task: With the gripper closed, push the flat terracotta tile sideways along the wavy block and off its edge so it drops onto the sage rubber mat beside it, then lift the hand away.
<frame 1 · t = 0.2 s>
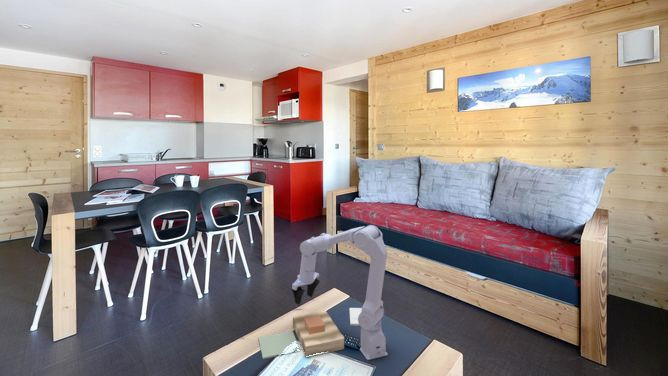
hand: (303, 299, 125), 11 cm above the table, tool pointing down, fingers open, 7 cm apart
tile: (314, 324, 117), point 5 cm above the table, touching wavy block
mat: (278, 344, 113), on the table
wavy block: (316, 336, 118), on the table
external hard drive: (359, 319, 131), on the table
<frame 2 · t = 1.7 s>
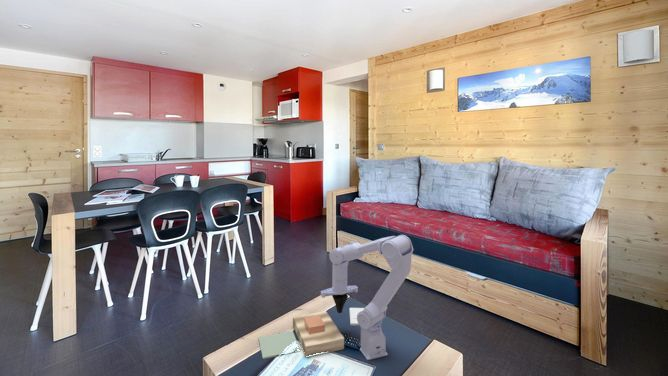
hand: (339, 311, 120), 8 cm above the table, tool pointing down, fingers closed
nothing on the table moved.
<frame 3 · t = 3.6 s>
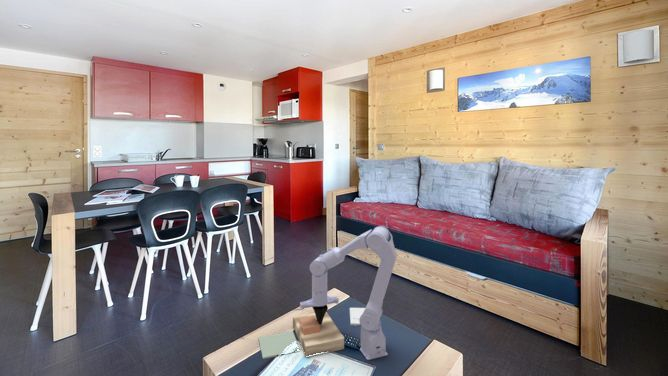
hand: (319, 323, 117), 5 cm above the table, tool pointing down, fingers closed
tile: (309, 325, 116), point 5 cm above the table, touching wavy block, gripper
everything else where it was.
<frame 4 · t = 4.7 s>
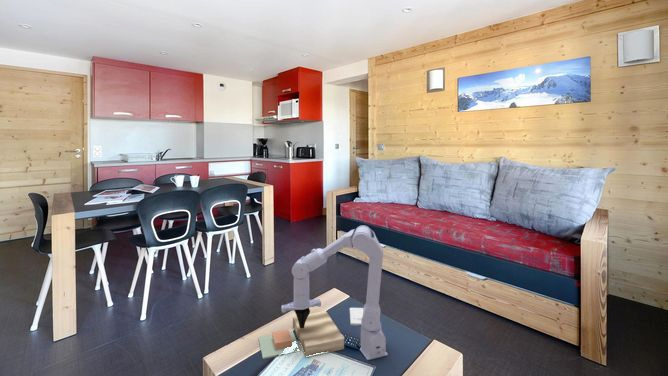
hand: (301, 326, 115), 5 cm above the table, tool pointing down, fingers closed
tile: (282, 339, 113), point 2 cm above the table, tilted 180°, touching mat
everything else where it was.
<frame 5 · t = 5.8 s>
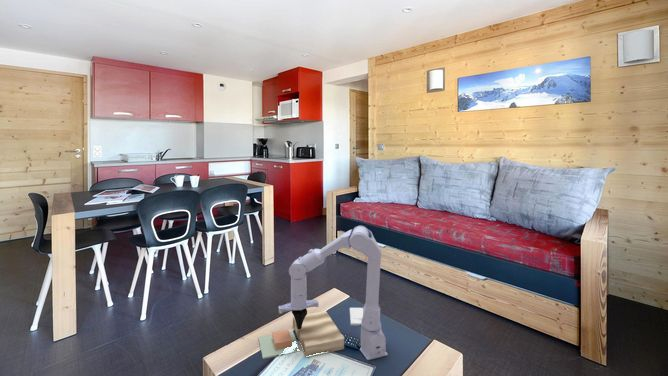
hand: (298, 327, 114), 5 cm above the table, tool pointing down, fingers closed
nothing on the table moved.
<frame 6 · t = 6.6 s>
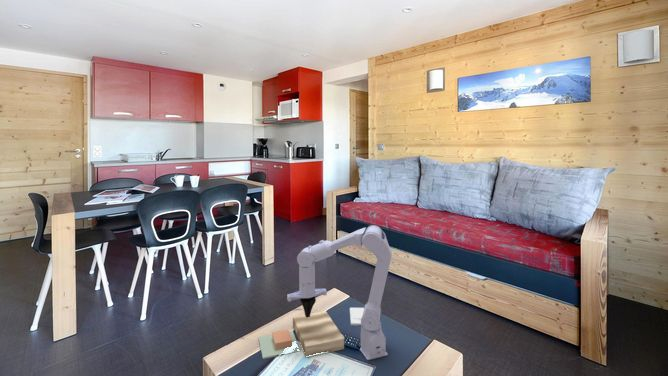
hand: (307, 315, 115), 9 cm above the table, tool pointing down, fingers closed
nothing on the table moved.
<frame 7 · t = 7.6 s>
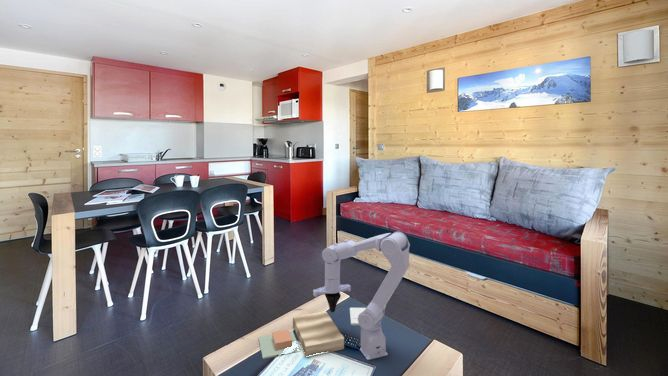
hand: (332, 310, 118), 9 cm above the table, tool pointing down, fingers closed
nothing on the table moved.
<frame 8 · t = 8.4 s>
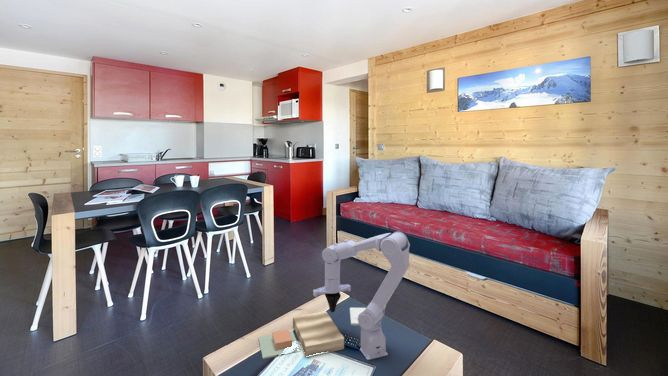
hand: (332, 310, 118), 9 cm above the table, tool pointing down, fingers closed
nothing on the table moved.
at the end: tile inside the target area (1.3 cm from its centre), point 1.8 cm above the table; tile touching mat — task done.
